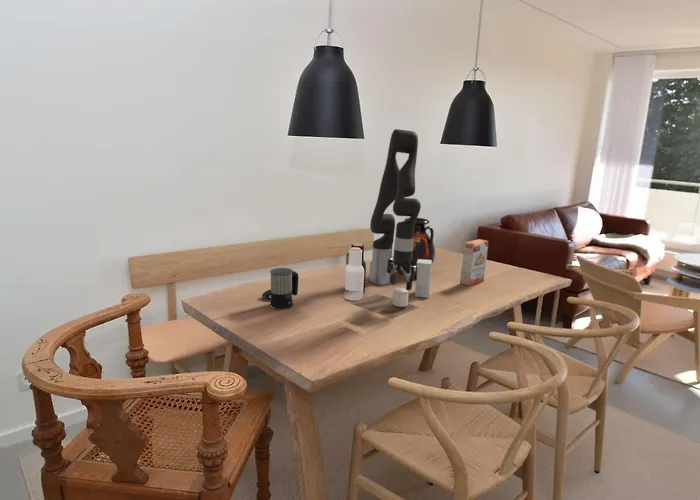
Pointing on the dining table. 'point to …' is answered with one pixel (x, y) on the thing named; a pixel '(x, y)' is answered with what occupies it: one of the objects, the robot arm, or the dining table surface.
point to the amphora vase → (422, 242)
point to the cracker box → (474, 262)
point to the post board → (383, 306)
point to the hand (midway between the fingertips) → (400, 287)
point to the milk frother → (282, 288)
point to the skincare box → (423, 278)
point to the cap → (400, 297)
